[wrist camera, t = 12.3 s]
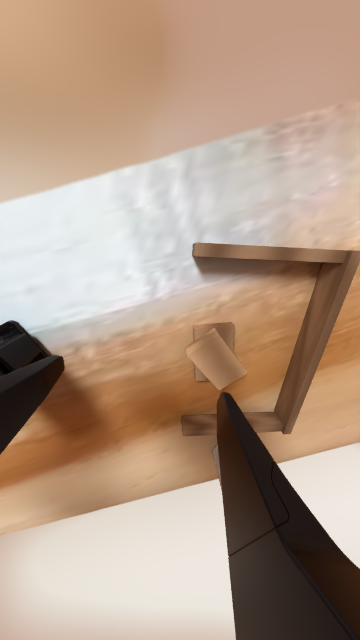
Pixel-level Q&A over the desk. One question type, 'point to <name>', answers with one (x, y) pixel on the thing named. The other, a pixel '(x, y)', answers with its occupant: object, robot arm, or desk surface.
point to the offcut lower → (225, 332)
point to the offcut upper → (215, 359)
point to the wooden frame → (311, 338)
